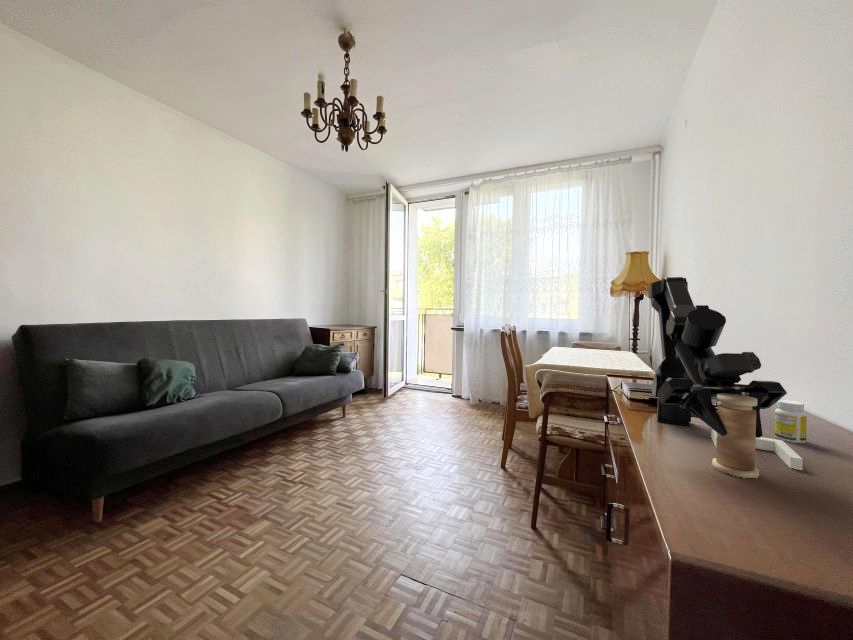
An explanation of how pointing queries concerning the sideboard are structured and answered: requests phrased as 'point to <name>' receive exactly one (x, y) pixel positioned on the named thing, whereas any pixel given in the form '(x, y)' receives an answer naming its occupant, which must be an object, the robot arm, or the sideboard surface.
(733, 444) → the bobbin
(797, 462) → the white u-shaped piece
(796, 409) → the supplement bottle
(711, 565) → the sideboard surface
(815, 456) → the sideboard surface
